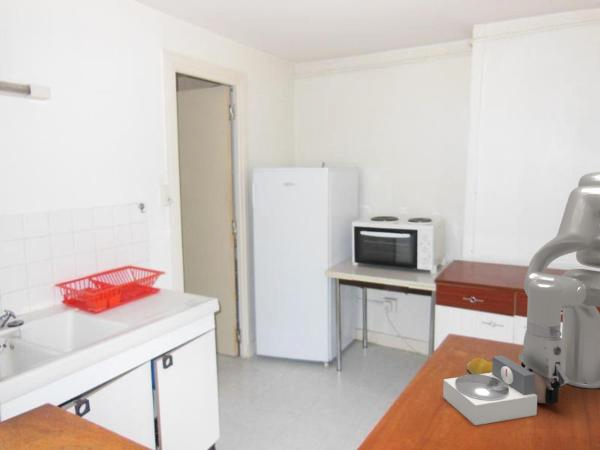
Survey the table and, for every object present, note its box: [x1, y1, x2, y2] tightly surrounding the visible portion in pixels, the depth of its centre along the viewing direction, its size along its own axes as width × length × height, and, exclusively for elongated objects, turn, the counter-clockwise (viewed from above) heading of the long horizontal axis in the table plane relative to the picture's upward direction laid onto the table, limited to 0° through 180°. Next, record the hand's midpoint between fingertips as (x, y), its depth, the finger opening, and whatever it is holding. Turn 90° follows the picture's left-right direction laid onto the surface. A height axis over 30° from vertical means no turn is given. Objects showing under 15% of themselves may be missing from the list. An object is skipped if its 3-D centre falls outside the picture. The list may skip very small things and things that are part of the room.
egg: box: [532, 371, 554, 404], centre depth 116 cm, size 7×7×9 cm
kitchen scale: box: [442, 355, 538, 426], centre depth 115 cm, size 17×14×10 cm
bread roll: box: [466, 357, 493, 374], centre depth 134 cm, size 8×9×4 cm
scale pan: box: [455, 373, 509, 401], centre depth 115 cm, size 13×13×1 cm
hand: (540, 395), depth 117 cm, fingers closed on egg, 6 cm apart
